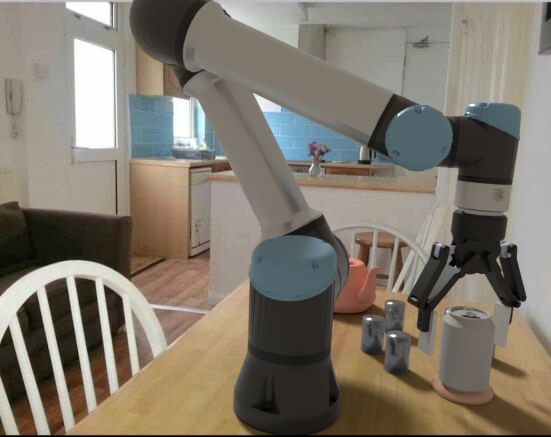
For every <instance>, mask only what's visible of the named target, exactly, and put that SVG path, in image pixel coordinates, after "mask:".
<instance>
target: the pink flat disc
mask: <svg viewBox="0 0 551 437" xmlns="http://www.w3.org/2000/svg"><path fill="white" fill-rule="evenodd" d="M430 385H431V388H432V390H433V391H434V392H435V394H437V395H438V396H440V397H441V398H444V399H446V400H447V401H450V402H454V403H457V404H461V405H468V406H481V405H486V404H489V403H491V401H493V398H494V389H493V387H492V385H490V384H489V387H488V388H487V389H486V390H484V391H482V392H481V393H478V394H473V395H470V394H462V393H458V392H455V391H452V390H450V389H448V388H447V387H445V386H444V384H443V383H442V382H441V381H440V380H439V378H438V373H435V374H434V375H433V376H432V378H431V384H430Z"/></svg>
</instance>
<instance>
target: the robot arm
mask: <svg viewBox="0 0 551 437" xmlns="http://www.w3.org/2000/svg"><path fill="white" fill-rule="evenodd" d="M129 8H130V9H129V16H128V21H129V28H130V32H131V34H132V37H133V39H134V41H135V43H136V45H137V46H138V47H139V49H140V50H141V51H142V52H144V53H145V55H147V56H148V57H150V58H151V59H152V60H155V61H157V62H158V63H159V62H160V63H162V64H165V65H167V66H170V68H171V69H172V72H173V74H174V76H175V78H176V79H177V82H178V84H179V85H180V88H181V90H182V92H183V94H184V95H185V96H188V97H191V98H194V99H196V100H197V101H198V103H199V104H200V107H201V109H202V111H203V113H204V115H205V118H206V120H207V121H208V123H209V125H210V128H211V130H212V132H213V134H214V136H215V137H216V140H217V141H218V143H219V146H220V147H221V150H222V152H223V154H224V156H225V157H226V159H227V162H228V164H229V166H230V168H231V170H232V172H233V174H234V176H235V178H236V181H237V182H238V183H239V187H240V188H241V191H242V192H243V194H244V197H245V198H246V200H247V203H248V204H249V206H250V209H251V211H252V212H253V215H254V216H255V219H256V221H257V222H258V225H259V227H260V229H261V235H260V237H259V240H258V243H257V245H256V246H255V248H253V250H252V253H251V257H250V264H249V267H248V268H249V269H248V278H249V293H248V294H249V296H248V327H247V329H248V330H247V352H246V355H245V358H244V359H243V360H244V361H243V362H242V364H241V365H242V366H241V368H240V369H239V370H240V371H239V372H238V373H239V374H238V375H237V376H238V377H237V379H236V382H235V384H234V387H233V403H232V405H233V410H234V413H235V414H236V415H237V417H238V418H239V419H240V420H241V421H243V422H244V423H245V424H247V425H249V426H251V427H252V428H255V429H257V430H259V431H262V432H267V433H271V434H275V435H284V436H299V435H306V434H312V433H316V432H318V431H321V430H325V429H326V428H328V427H330V426H331V425H332V424H333V423H335V421H337V419H339V418H338V417H339V416H340V414H341V400H342V397H341V390H340V386H339V382H338V379H337V376H336V372H335V368H334V365H333V360H332V355H331V354H332V341H333V340H332V339H333V327H334V326H333V325H334V313H335V312H334V305H335V302H336V300H337V298H338V296H339V294H340V292H341V291H342V289H343V288H344V286H345V284H346V282H347V279H348V276H349V269H350V263H349V256H348V253H349V252H348V250H347V248H346V245H345V244H344V243H343V241H342V239H340V238H339V237H338V236H337V235H336V234H335V233H334V232H332V229H331V227H330V226H329V225H330V224H328V221H327V219H326V217H325V215H324V213H323V212H322V211H319V210H316V209H314V208H311V207H310V205H309V203H308V201H307V200H306V198H305V196H304V194H303V191H302V190H301V188H300V186H299V183H298V181H297V179H296V177H295V176H294V173H293V172H292V169H291V168H290V165H289V163H288V161H287V159H286V157H285V155H284V153H283V151H282V149H281V147H280V144H279V143H278V141H277V139H276V137H275V135H274V132H273V130H272V128H271V127H270V125H269V123H268V121H267V118H266V116H265V114H264V112H263V110H262V109H261V106H260V105H259V102H258V101H257V98H256V96H258V97H261V98H263V99H265V100H266V101H267V100H268V101H269V102H272V103H273V104H275V105H277V106H279V107H282V108H283V109H286V110H288V111H290V112H292V113H293V114H296V115H298V116H300V117H303V118H305V119H306V120H309V121H311V122H313V123H315V124H317V125H319V126H321V127H323V128H325V129H326V130H329V131H331V132H334V133H335V134H338V135H340V136H342V137H344V138H345V139H348V140H350V141H352V142H354V143H357V144H358V145H361V146H362V147H365V148H366V149H369V150H370V151H372V152H374V153H375V154H376V158H377V160H378V161H379V162H381V163H384V164H393V165H395V166H399V167H400V168H402V169H405V170H408V171H409V172H410V171H411V172H424V171H428V170H431V169H434V168H435V167H436V168H447V169H457V173H458V174H457V179H456V184H455V185H456V186H455V192H454V200H453V206H454V207H456V208H457V209H454V211H453V212H452V217H451V218H452V219H451V225H450V233H451V235H452V241H451V243H450V244H444V243H441V242H439V241H435V242H433V244H432V246H431V250H430V251H431V252H430V255H429V258H428V259H427V262H426V263H425V264H424V267H423V269H422V271H421V272H420V274H419V276H418V278H417V279H416V282H415V283H414V286H412V289H411V291H410V293H409V294H408V296H407V298H406V300H407V303H408V304H409V305H412V306H413V307H415V308H417V309H418V310H417V311H418V312H417V320H416V329H417V330H418V331H419V334H418V341H417V349H419V350H420V351H421V352H423V353H424V354H426V355H427V356H433V355H434V348H435V339H436V332H437V326H438V325H437V324H438V315H439V312H438V311H436V310H435V309H436V308H437V306H438V305H439V304H440V303H441V301H442V300H443V299H444V298H445V297H446V295H448V293H449V292H450V291H451V290H452V288H453V287H454V286H455V284H456V283H457V282H458V281H459V280H460V279H463V278H465V276H466V275H475V274H480V275H484V276H485V277H486V279H487V281H488V283H489V284H490V286H491V288H492V289H493V291H494V293H495V295H496V297H497V298H498V300H499V301H494V303H493V305H494V306H493V313H492V318H491V320H492V321H493V323H494V324H495V335H494V344H496V346H497V347H500V348H501V349H503V348H504V349H505V348H506V346H507V341H508V340H507V339H508V334H509V327H510V325H511V324H512V322H513V315H514V308H515V309H520V307H521V306H522V303H524V302H526V301H527V298H528V297H527V292H526V288H525V284H524V281H523V277H522V273H521V269H520V264H519V261H518V245H517V244H514V243H511V242H508V241H505V238H506V235H507V226H508V219H509V218H508V217H507V215H505V214H504V213H506V212H508V211H509V210H510V205H511V203H510V202H511V196H512V191H513V190H512V189H513V181H514V174H515V168H516V162H517V157H518V156H517V155H518V149H519V143H520V141H521V135H520V134H521V123H522V122H521V121H522V111H521V109H520V108H519V106H517V105H515V104H514V103H513V104H512V103H503V102H473V103H468V105H466V107H465V111H464V112H463V115H457V116H456V115H454V116H452V115H451V116H450V115H449V116H448V115H444V113H443V112H441V111H440V110H438V109H437V108H434V107H432V106H430V105H428V104H425V105H424V104H420V103H418V102H415V101H412V100H411V99H408V98H406V97H404V96H402V95H400V94H397V93H395V92H393V91H391V90H389V89H388V88H385V87H384V86H381V85H379V84H376V83H374V82H372V81H370V80H367V79H366V78H363V77H362V76H359V75H358V74H355V73H352V72H350V71H348V70H346V69H344V68H341V67H339V66H337V65H335V64H333V63H331V62H329V61H326V60H324V59H322V58H320V57H318V56H315V55H314V54H311V53H309V52H307V51H304V50H302V49H300V48H298V47H296V46H294V45H291V44H289V43H287V42H286V41H284V40H280V39H278V38H276V37H274V36H272V35H270V34H268V33H265V32H263V31H261V30H259V29H256V28H254V27H252V26H250V25H248V24H246V23H243V22H242V21H239V20H237V19H234V18H233V17H232V16H231V15H230V14H229V13H228V12H227V11H226V9H225V8H223V6H222V5H221V3H219V2H217V1H215V0H132V2H131V6H130V7H129ZM255 95H256V96H255ZM497 259H499V263H498V260H497ZM499 264H500V265H499Z"/></svg>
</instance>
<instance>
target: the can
mask: <svg viewBox="0 0 551 437" xmlns="http://www.w3.org/2000/svg"><path fill="white" fill-rule="evenodd" d="M448 312H449V313H447V314H446V315H445V316H444V315H443V316H442V325H441V326H442V327H441V335H440V336H441V337H440V349H439V359H438V370H437V374H438V378H439V380H440V381H441V382H442V383H443V384H444V386H445V387H447V388H448V389H450V390H452V391H455V392H458V393H462V394H470V395H473V394H478V393H481V392H482V391H484V390H486V389H487V388H488V387H489V385H490V379H491V370H492V363H493V362H492V353H493V344H494V335H495V324H494V323H493V321H492V317H493V314H491V313H490V312H489V311H487V310H486V309H482V308H479V307H475V306H471V305H469V306H468V305H452V306H450V308H449V309H448Z"/></svg>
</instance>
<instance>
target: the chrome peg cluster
mask: <svg viewBox="0 0 551 437" xmlns="http://www.w3.org/2000/svg"><path fill="white" fill-rule="evenodd" d="M406 305H407V304H406V302H405V301H402V300H400V299H395V298H394V299H393V298H391V299H385V301H384V311H383V312H384V314H383V316H382V315H378V314H372V313H371V314H370V313H369V314H364V315H363V316H362V326H361V335H360V336H361V341H360V350H361V351H362V352H363V353H365V354H369V355H381V354H382V353H383V352H384V361H383V364H384V365H383V369H384V370H385V371H386V372H388V373H389V374H393V375H406V374H408V372H409V365H410V355H411V343H412V334H410V333H408V332H406V331H404V325H405V314H406ZM450 307H451V306H450ZM450 307H449V306H448V307H445V308H444V312H443V317H444V316H445V315H446V314H447V313H449V312H448V309H449V308H450ZM385 334H386V338H385ZM384 339H386V340H384ZM384 342H385V350H384ZM496 346H497V345H496V344H493V353H492V363H493V362H494V360H495V355H496Z"/></svg>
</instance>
